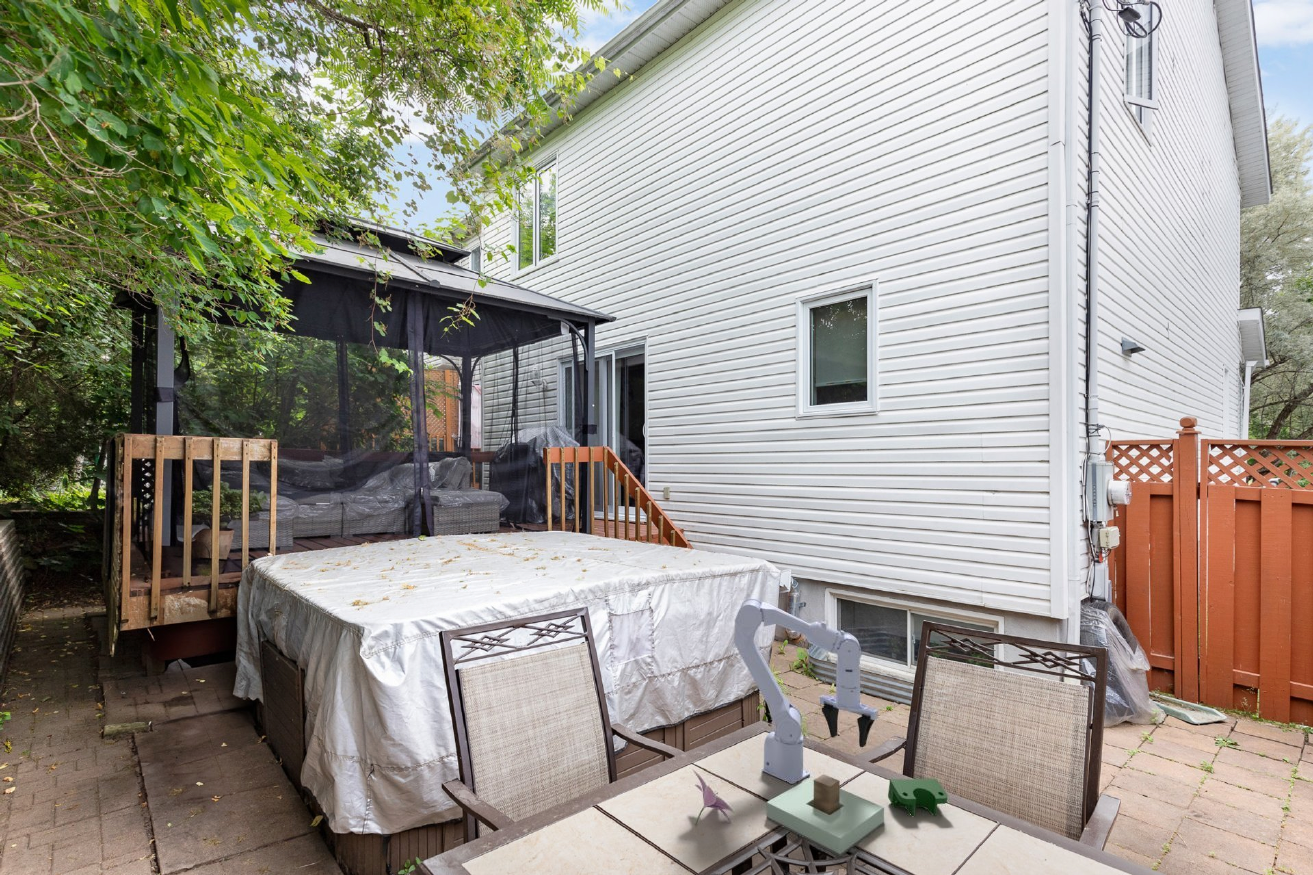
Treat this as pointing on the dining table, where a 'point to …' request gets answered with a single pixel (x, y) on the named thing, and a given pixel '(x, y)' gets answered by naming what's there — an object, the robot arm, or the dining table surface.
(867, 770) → the dining table surface
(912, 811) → the clamp
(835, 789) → the post
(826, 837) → the well block
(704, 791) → the lily
